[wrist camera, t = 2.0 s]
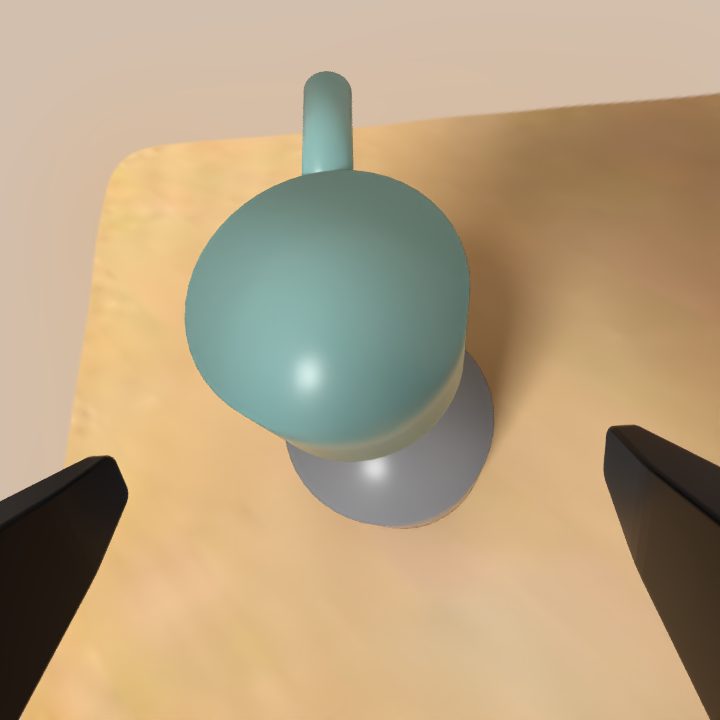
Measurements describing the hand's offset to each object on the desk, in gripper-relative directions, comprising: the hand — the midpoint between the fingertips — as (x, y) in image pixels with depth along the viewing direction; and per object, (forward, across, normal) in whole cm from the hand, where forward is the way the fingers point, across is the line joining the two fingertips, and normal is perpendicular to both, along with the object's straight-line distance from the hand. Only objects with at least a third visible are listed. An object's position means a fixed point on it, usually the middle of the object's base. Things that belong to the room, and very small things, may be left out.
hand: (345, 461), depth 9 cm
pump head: (+5, 0, 0) cm, 5 cm away
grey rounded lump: (+11, 0, +7) cm, 13 cm away
